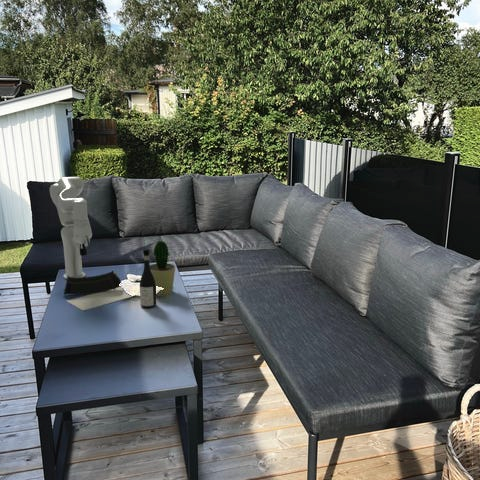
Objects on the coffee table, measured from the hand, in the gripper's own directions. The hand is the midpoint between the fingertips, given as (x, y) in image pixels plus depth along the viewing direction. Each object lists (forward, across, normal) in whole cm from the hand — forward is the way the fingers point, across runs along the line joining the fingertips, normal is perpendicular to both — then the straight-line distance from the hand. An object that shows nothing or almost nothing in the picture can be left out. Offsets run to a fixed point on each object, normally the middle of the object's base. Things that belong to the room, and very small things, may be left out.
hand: (83, 255), depth 267 cm
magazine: (+20, +8, 0) cm, 22 cm away
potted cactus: (+20, +34, +28) cm, 48 cm away
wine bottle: (+21, +46, +11) cm, 51 cm away
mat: (+20, +20, 0) cm, 28 cm away
